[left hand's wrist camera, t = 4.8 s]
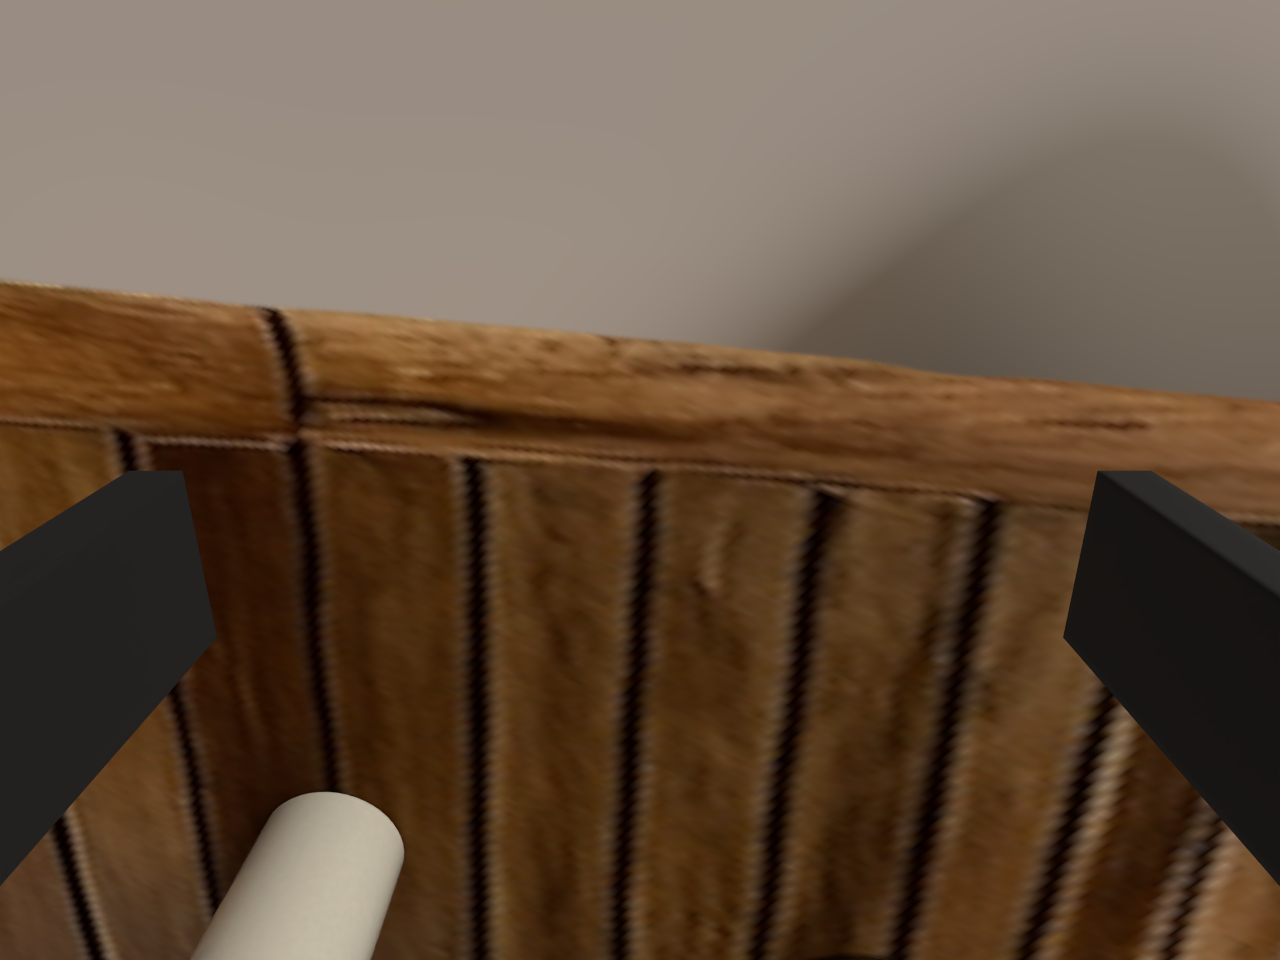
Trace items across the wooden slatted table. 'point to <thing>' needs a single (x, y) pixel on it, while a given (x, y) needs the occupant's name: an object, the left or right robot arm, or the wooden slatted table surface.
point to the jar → (310, 885)
